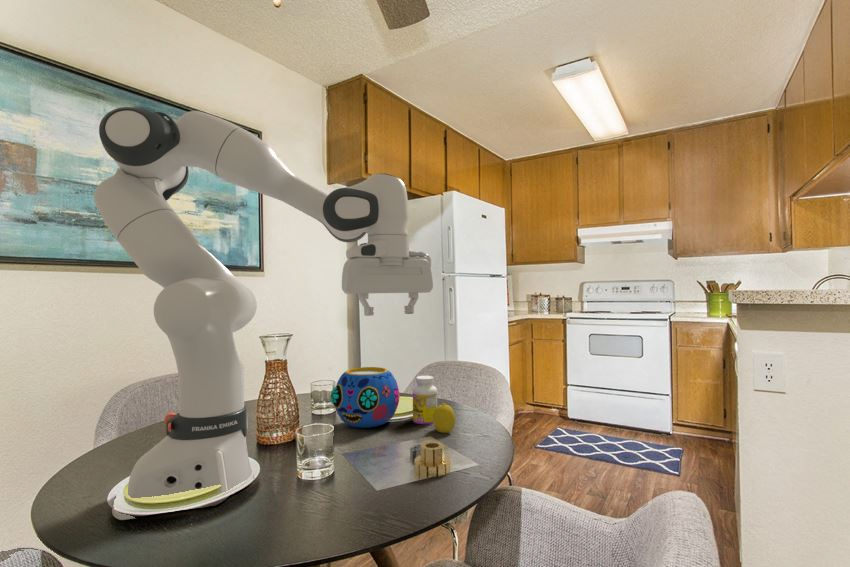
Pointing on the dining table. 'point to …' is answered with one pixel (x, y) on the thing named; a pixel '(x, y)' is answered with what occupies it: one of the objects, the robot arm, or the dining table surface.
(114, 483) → the dining table surface
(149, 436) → the dining table surface
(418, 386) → the supplement bottle
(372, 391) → the ceramic pot
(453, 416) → the lemon
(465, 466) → the plate
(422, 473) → the gear
